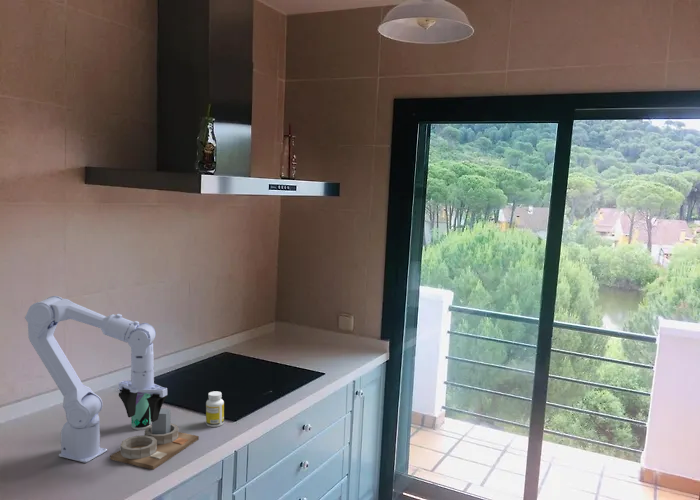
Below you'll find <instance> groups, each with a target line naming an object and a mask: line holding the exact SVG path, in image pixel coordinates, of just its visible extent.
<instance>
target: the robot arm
mask: <svg viewBox="0 0 700 500" xmlns="http://www.w3.org/2000/svg"><path fill="white" fill-rule="evenodd" d="M24 319H25V321H26V322H27V331H28V333H27V334H28V340H29V343H30V344H31V345H32V347H33V349H34V350H35V352H36V354H37V355H38V357H39V359H40V360H41V362H42V364H43V365H44V367H45V368H46V370H47V371H48V374H49V375H50V376H51V378H52V380H53V381H54V384H55V385H56V387H57V388H58V390H59V391H60V393H61V395H62V396H63V399H62V408H63V410H64V412H65V418H66V422H65V423H64V424H63V426H62V428H61V432H60V445H61V446H60V452H61V453H59V454H58V457H61V458H65V459H69V460H73V461H77V462H81V463H89V462H90V461H92V460H93V459H95V458H97V457H99V456H101V455H102V454H104V453H106V452H108V449H107V448H104V447H101V442H100V440H101V435H100V434H101V433H100V431H101V430H100V429H101V428H100V423H101V422H100V421H101V420H100V416H99V413H100V412H101V411H102V409H103V407H104V404H103V403H104V402H103V400H102V398H101V397H100V396H99V395H98V394H96V392H94V391H93V390H92V388H91V387H90V386H87V385H85V384H83V382H82V380H81V379H80V377H79V376H78V373H77V372H76V370H75V369H74V367H73V365H72V364H71V362H70V361H69V358H68V357H67V356H66V354H65V352H64V350H63V349H62V348H61V346H60V344H59V342H58V341H57V338H56V337H55V336H54V334H55V331H56V329H57V326H58V324H59V323H60V322H63V321H67V320H74V321H76V322H80V323H82V324H86V325H89V326H93V327H96V328H98V329H100V330H101V332H102V334H103V335H104V336H108V337H110V338H112V339H113V338H114V339H115V340H117V341H121V342H124V343H127V344H128V345H129V347H130V362H131V363H130V367H131V368H130V369H131V370H130V379H131V380H122V381H120V382H118V390H119V391H120V392H119V393H118V397H119V398H120V399H121V402H122V404H123V406H124V408H125V411H126V414H127V417H128V418H131V417H132V416H134V415H135V412H136V398H137V393H138V392H141V393H147V394H150V397H149V398H147V401H148V403H149V407H150V423H152V422H155V421H156V420H158V417H159V413H160V410H161V408H162V406H163V404H164V402H165V400H166V398H168V397H167V396H168V388H167V387H163V386H161V385H159V384H157V383H155V382H154V381H155V371H154V369H155V367H154V366H155V365H154V364H155V362H154V361H155V360H154V357H155V356H154V354H155V353H154V341H155V339H156V336H157V333H156V329H155V327H154V326H153V325H152V324H149V323H148V322H141V323H140V321H138V320H135V321H133V320H130V319H128V318H125V317H123V314H121V313H117V314H113V313H112V314H109V315H107V316H106V315H105V314H102V313H99V312H97V311H95V310H92V309H89V308H87V307H85V306H83V305H81V304H78V303H75V302H74V301H72V300H70V299H68V298H63V297H61V296H59V295H52V296H48V297H47V298H45V299H43V300H41V301H39V302H38V301H37V302H35V303H32V304H31V305H30V306H29V308H28V310H27V312H26V314H25V317H24Z"/></svg>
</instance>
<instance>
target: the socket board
mask: <svg viewBox="0 0 700 500" xmlns="http://www.w3.org/2000/svg"><path fill="white" fill-rule="evenodd" d="M199 439H200V437H199V435H195V434H189V433H186V432H180V431H179V426H177V425H176V424H175V423H171V432H170V433H166V434H152V424H150V426H149V427H147V428H146V429H144V435H135V436H131V437H128V438H125V439H123V440H122V441H121V443H120V450H118V451H116V452H114V453H112V454H111V455H110V456H109V457H110V459H109V460H111V461H115V462H120V463H124V464H129V465H131V466H132V465H133V466H137V467H140V468H141V467H142V468H143V469H144V468H146V469H150V470H155V469H157V468H158V467H160V466H161V465H163V464H164V463H166V462H168V461H169V460H170V459H171V458H174V457H175V456H176V455H178V454H179V453H181V452H183V451H184V450H185V449H187V448H188V447H189V446H192V445H193V444H194V443H195V442H197V441H198V440H199Z"/></svg>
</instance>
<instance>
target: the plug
mask: <svg viewBox="0 0 700 500" xmlns="http://www.w3.org/2000/svg"><path fill="white" fill-rule="evenodd" d="M171 414H172V413H171V408H165V407H164V408H162V407H161V410H160V413H159V417H158V420H156V421H155V422H151V425H152V434H166V433H170V432H171V424H172V422H171V417H172V416H171Z"/></svg>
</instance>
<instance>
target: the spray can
mask: <svg viewBox="0 0 700 500" xmlns="http://www.w3.org/2000/svg"><path fill="white" fill-rule="evenodd" d="M149 397H151V394H147V393H141V392H138V393H137V398H136V412H135V415H134V416H132V417H130V418H131V419H130V420H131V421H130V423H131V424H130V425H131V429H133V430H135V431H143V430H144V431H145V429H146V428H147V427H149V426H151V419H150V407H149V403H148V401H147V398H149Z"/></svg>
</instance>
